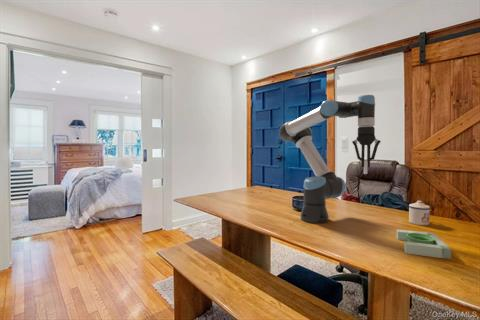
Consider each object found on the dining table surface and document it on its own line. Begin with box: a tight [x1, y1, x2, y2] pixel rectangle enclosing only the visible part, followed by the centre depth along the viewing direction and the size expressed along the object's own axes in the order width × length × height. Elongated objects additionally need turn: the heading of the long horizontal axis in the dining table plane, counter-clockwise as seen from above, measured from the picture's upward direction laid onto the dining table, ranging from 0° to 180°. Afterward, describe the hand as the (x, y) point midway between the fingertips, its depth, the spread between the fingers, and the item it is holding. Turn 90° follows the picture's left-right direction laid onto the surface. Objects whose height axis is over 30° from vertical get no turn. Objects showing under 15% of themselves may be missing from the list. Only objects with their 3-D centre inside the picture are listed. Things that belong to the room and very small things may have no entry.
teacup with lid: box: [408, 200, 431, 226], centre depth 131 cm, size 12×9×12 cm
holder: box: [396, 229, 452, 260], centre depth 99 cm, size 14×18×4 cm
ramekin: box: [407, 233, 435, 245], centre depth 99 cm, size 9×9×4 cm
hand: (365, 173), depth 126 cm, fingers closed
